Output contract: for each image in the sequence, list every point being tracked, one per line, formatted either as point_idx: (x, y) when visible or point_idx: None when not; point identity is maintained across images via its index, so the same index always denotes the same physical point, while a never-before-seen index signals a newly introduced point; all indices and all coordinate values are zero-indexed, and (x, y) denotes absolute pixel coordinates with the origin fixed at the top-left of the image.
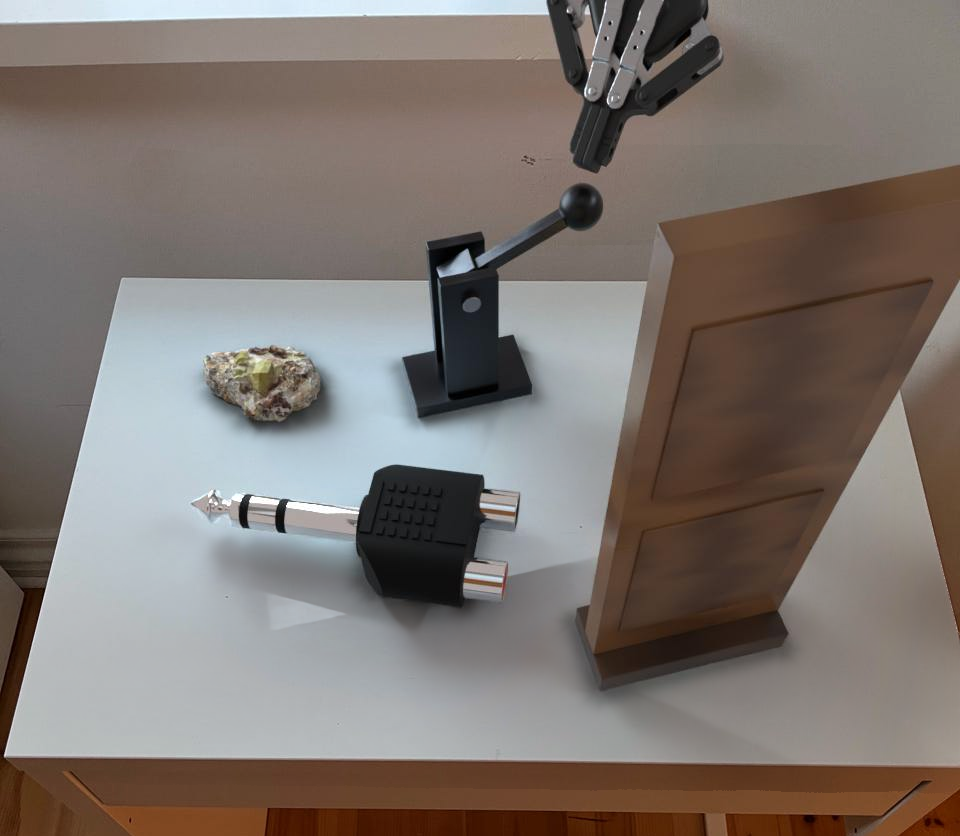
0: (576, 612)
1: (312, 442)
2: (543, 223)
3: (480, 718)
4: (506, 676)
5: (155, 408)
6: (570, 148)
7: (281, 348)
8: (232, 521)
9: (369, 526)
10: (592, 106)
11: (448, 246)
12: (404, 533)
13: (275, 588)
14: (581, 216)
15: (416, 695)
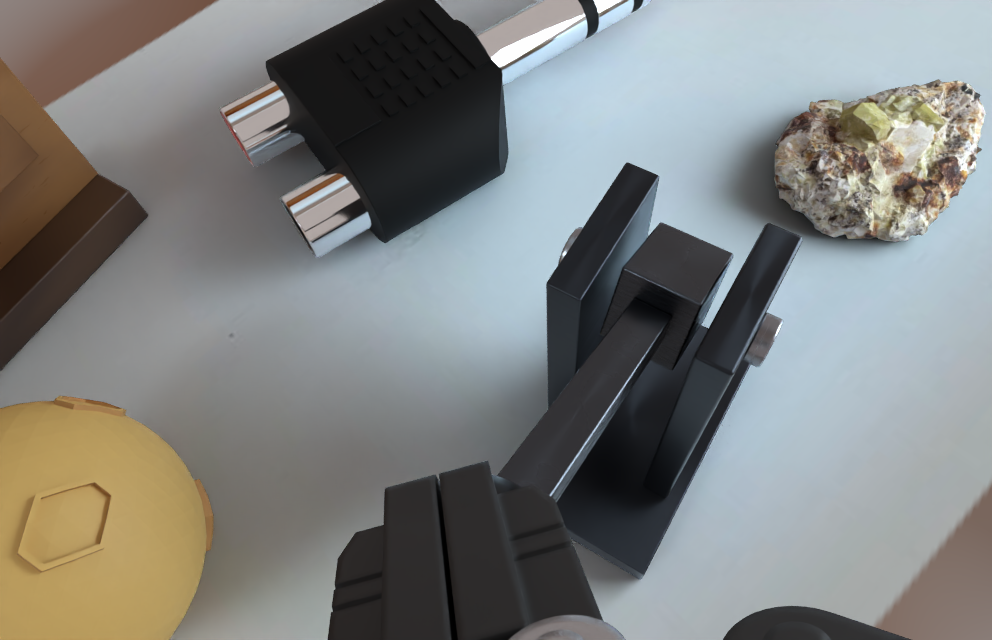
0: (132, 195)
1: (704, 156)
2: (551, 445)
3: (183, 59)
4: (187, 109)
5: (938, 41)
6: (538, 493)
7: (926, 203)
8: None
9: (427, 13)
10: (516, 619)
11: (742, 266)
12: (375, 35)
13: (522, 2)
14: None
15: (269, 31)
